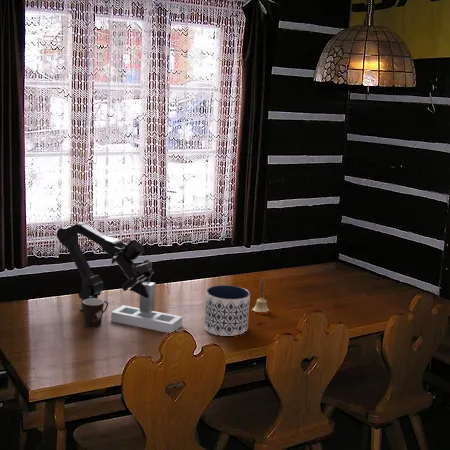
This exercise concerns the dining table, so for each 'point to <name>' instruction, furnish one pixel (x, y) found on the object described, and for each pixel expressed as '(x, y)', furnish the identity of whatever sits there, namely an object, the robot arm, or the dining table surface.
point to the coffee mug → (93, 312)
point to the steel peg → (147, 303)
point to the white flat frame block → (146, 319)
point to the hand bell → (261, 299)
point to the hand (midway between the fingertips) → (150, 295)
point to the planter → (226, 310)
